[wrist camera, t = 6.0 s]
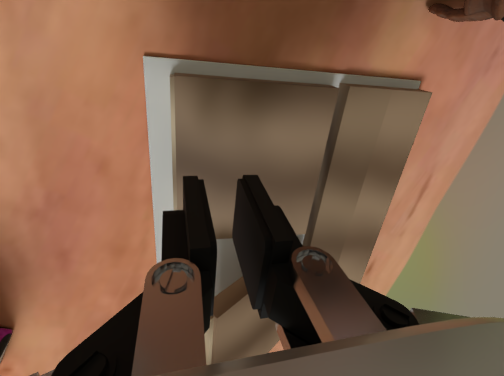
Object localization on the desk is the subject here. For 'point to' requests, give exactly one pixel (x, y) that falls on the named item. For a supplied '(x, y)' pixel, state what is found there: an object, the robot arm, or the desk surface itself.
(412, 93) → the laid strip
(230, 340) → the plank
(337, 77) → the underlay
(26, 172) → the desk surface
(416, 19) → the desk surface
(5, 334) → the candy bar box
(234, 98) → the plank
